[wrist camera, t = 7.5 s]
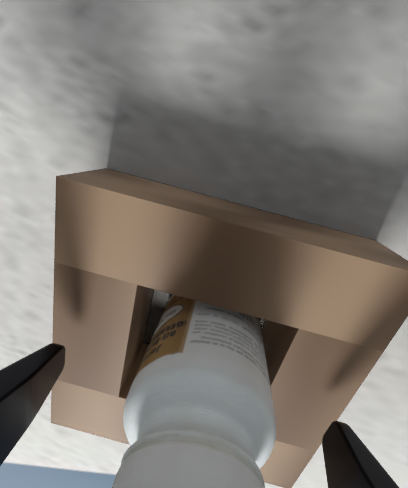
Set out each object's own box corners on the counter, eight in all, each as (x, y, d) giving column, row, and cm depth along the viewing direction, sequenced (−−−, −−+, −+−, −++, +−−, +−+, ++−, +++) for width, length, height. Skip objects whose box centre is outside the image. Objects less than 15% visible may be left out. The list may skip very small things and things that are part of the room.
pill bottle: (173, 265, 11) (65, 473, 4) (270, 286, 11) (342, 543, 4) (160, 341, 13) (67, 590, 6) (245, 361, 13) (263, 642, 5)
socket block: (376, 240, 10) (463, 297, 6) (278, 420, 14) (295, 520, 10) (105, 168, 10) (29, 180, 6) (87, 367, 14) (34, 447, 10)
